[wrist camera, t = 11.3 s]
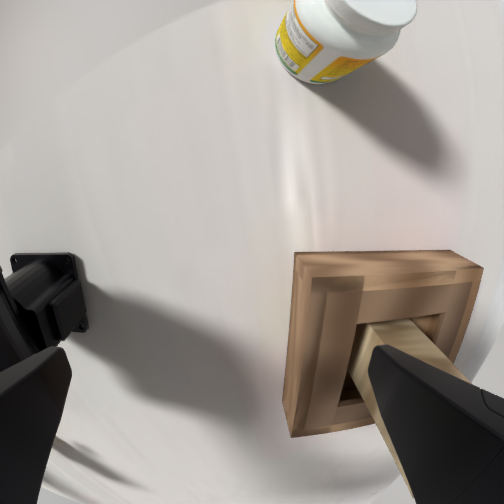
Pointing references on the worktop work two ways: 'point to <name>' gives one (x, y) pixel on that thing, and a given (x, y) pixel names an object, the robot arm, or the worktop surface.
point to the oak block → (405, 339)
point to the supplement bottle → (338, 35)
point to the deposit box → (364, 311)
